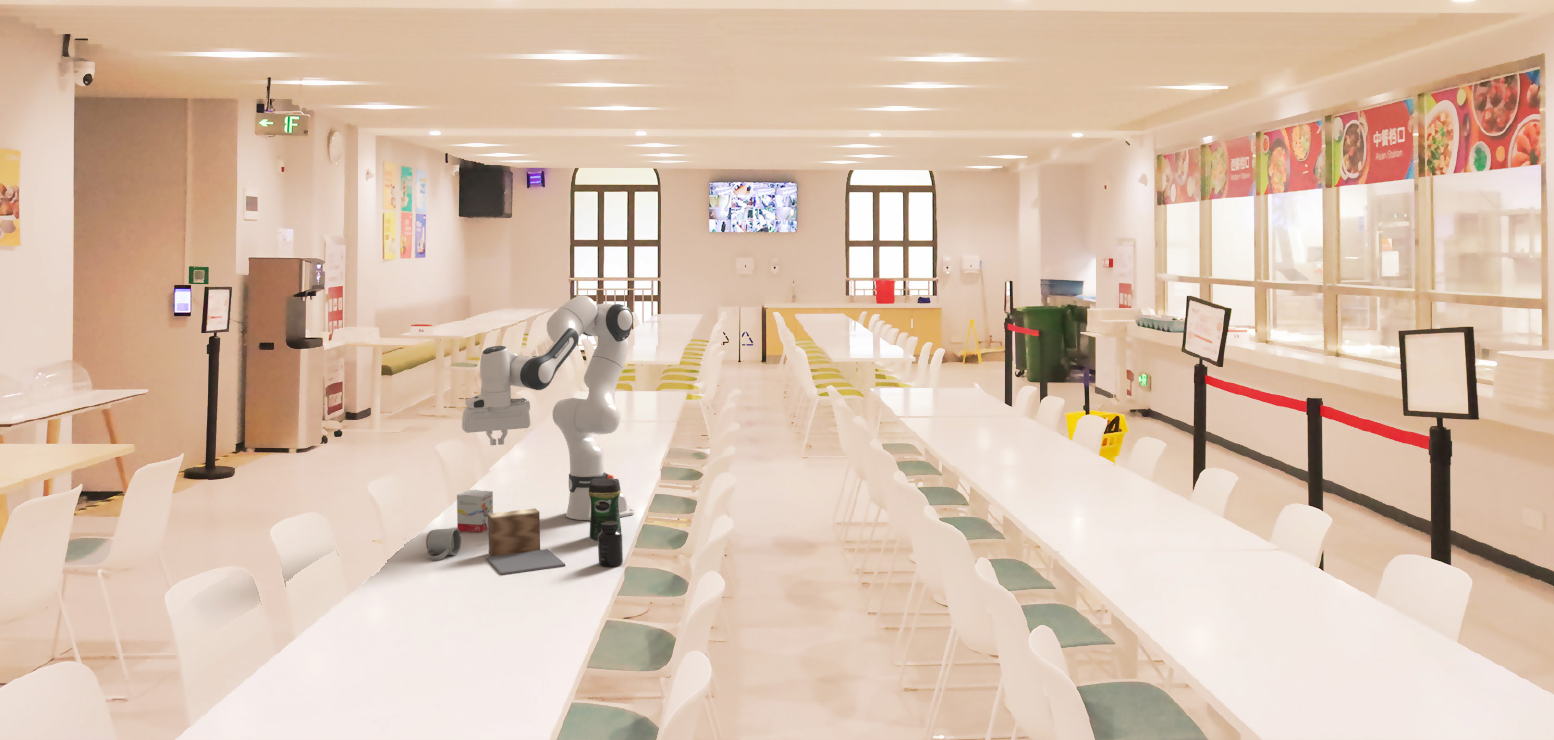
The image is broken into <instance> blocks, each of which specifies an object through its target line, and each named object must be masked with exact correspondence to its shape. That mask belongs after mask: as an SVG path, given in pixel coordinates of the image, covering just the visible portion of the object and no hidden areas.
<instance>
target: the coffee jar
mask: <svg viewBox="0 0 1554 740" xmlns="http://www.w3.org/2000/svg"><path fill="white" fill-rule="evenodd" d="M620 491H621V486H620V480H619V478H613V479H593V480H591V481H590V485H589V496H590V499H591V520H590V521H589V522H590V523H589V538H590V539H592V540H594V541H595V540H597V541H598V535H599V533H600V532H602V530H601V523H602V522H606V521H616V522H618V527H619V529H618V531H620V532H621V533H622V526H621V525H622V524H621V517H620V515H619V504H618V499H619V495H620ZM621 492H622V491H621Z"/></svg>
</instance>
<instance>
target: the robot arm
mask: <svg viewBox="0 0 1554 740" xmlns="http://www.w3.org/2000/svg"><path fill="white" fill-rule="evenodd" d="M633 325H634V315H633V312H632V310H631V309H630V307H628V306H626V305H624V304H620V303H614V304H613V303H598V304H596V302H595V301H594V299H592V297H589V296H588V295H584V294H580V295H577V296H575V297H573V298H571V299H570V300H568V301H567V302H565V303H564V304H562V306H561V307H559V308H558V309H556V311H555V312H554V313H553V314H552V315H550V316H549V318H548V320H547V322H546V332H547V335H548V336H549V338H550V340H551V341H552V342H553V343H552V344H551V345H550V347H549V348H548V349H547V350H546V351H545V353H543V354H541V355H537V356H529V355H519V354H518V353H515V352H513V351H511V350H510V349H508V347H507V346H505V345H496V346H493V345H492V346H490V347H487V348H485V349H484V350H483V351H482V352H481V355H480V361H479V362H480V364H479V371H480V372H479V373H480V375H479V377H480V380H481V387H480V394H477V395H475V396H471V397H469V398H467V399H465V401H464V403H465V406H466V407H465V408H464V410H463V413H462V418H461V419H462V420H461V428H462V430H463V432H465V433H470V434H471V433H479V432H480V433H481V432H485V434H486V436H487V437H488V439H489V443H490V446H496V445H497V444H498V445H499V446H500V445H503V446H504V444H505V438H506V437H507V435H508V430H518V429H519V430H520V429H528V428H529V427H530V426H531V417H530V410H531V402H530V401H529V400H528V399H526V398H523V397H521V398H511V397H512V393H511V392H512V391H511V390H512V389H511V386H512V387H513V386H515V387H519V388H527V389H530V390H534V391H542V390H544V389H546V388H547V387H548V386H549V385H550V384H551V383H552V381H553V379H554V378H555V375H556V373H557V371H558V370H559V369H560V367H561V366H562V365H563V363H564V362H565V361H566V360H567V359H568V357H569V356H570V355H571V353H572V352H573V351H574V349H576V347H577V345H578V342H579V338H580V337H581V336H582V335H585V336H588V337H597V345H596V347H595V349H594V352H593V353H592V356H591V358H590V361H589V363H588V366H587V368H586V371H585V373H584V376H583V382H584V384H585V385H586V387H587V388H588V396H587V398H586V399H584V398H578V397H571V398H563V399H560V400H558V401H557V402H556V403H555V405H554V407H553V409H552V419H553V422H554V424H555V425H556V427H558V428H559V430H560V431H561V432H562V434H563V437H564V439H565V441H566V445H567V449H568V453H569V454H568V455H569V471H570V472H569V474H568V490H569V497H568V504H567V509H566V513H565V517H566V518H569V519H572V520H579V521H589V522H590V520H591V499H590V496H589V485H590V481H591V480H593V479H615V476H614V475H613V474H608V473H606V472H604V471H605V469H604V461H605V460H604V449H603V447H601V445H600V444H598V442H597V441H596V439H595V437H594V435H599V436H600V435H607V434H612V433H614V432H615V431H616V430H617V429H618V427H619V426H620V423H621V413H620V410H619V408H618V406H617V404H616V400H615V394H616V388H617V386H618V382H619V380H620V377H621V374H622V371H623V370H624V367H625V363H626V359H627V355H628V351H629V343H628V340H627V338H629V336H630V335H631V331H632V328H633ZM493 431H500V432H501V436H500V437H499V438H497V439H496V438H493V437H492V435H493ZM618 504H619V515H620V518H622V517H629V516H632V515H634V514H635V511H634V510H635V509H634V508H633V507H631V506H630V505H628V501H627V498H626V495H625V494H624V492H622V491H620V495H619V499H618Z"/></svg>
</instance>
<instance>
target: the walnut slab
mask: <svg viewBox="0 0 1554 740" xmlns="http://www.w3.org/2000/svg"><path fill="white" fill-rule="evenodd" d="M540 516H541V515H540V511H539V510H538V509H537V508H527V509H519V510H509V511H501V512H493V513H490V514H488V529H487V531H488V535H487V536H488V554H489V556H498V555H505V554H513V553H521V552H528V551H536V550H541V530H540V529H541V521H540V520H541V519H540V518H541V517H540Z"/></svg>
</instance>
